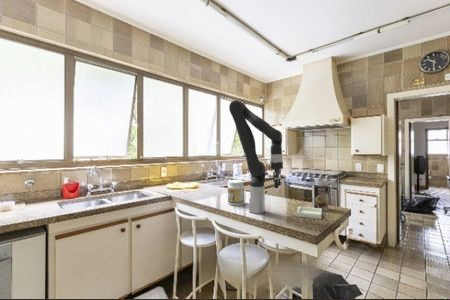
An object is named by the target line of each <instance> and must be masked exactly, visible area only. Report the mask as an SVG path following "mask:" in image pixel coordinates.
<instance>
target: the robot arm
mask: <svg viewBox="0 0 450 300" xmlns="http://www.w3.org/2000/svg"><path fill="white" fill-rule="evenodd" d="M228 108H229V109H228V110H229V113H230V115H231V117H232V120H233V121H234V125H235V129H236V132H237V135H238V138H239V142H240V144H241V147H242V150H243V152H244V156H245V160H246V163H247V169H248V172H249V174H250V175H251V179H250V182H249V192H250V193H249V194H250V196H249V198H248V200H249V201H248V202H249V203H248V204H249V213H252V214H256V215H257V214H264V213H265V209H266V208H265V207H266V206H265V203H266V202H265V181H266V166H265V164H264V162H262V161H260V160H259V157H258V155H257V148H256V140H255V137H254V134H253V131H252V129H251V127H250V126H249V124H250V125H252V126H253V127H254V128H255V129H257V130H258V131H259V132H260V133H262V134H264V135H265V136H266V137H267V138H268V139H269V140H271V145H270V169H271V170H274V171H273V172H272V177H273V182H274V188H275V189H279V187H281V184H282V182H281V179H282V172H281V171H282V170H283V169H284V162H283V161H284V158H283V148H282V143H283V134H282V132H281V131H280V130H279V129H276V128H275V127H274V126H271V124H269V122H267V121H265V119H263V118H262V117H260V116H258V115H257V114H255V113H254V112H252V111H251V110H250V109H249V108H248V107H247V106H246V105H245V104H244V103H243V102H242V101H241V100H232V101H230V103H229V105H228ZM248 122H249V124H248Z"/></svg>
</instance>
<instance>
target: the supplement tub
mask: <svg viewBox="0 0 450 300" xmlns="http://www.w3.org/2000/svg"><path fill="white" fill-rule="evenodd" d="M227 203H228V204H229V205H230V206H234V205H238V206H241V205H244V204H245V185H244V181H243V180H240V179H235V180H234V179H232V180H229V181H228V185H227Z"/></svg>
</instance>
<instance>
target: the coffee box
mask: <svg viewBox="0 0 450 300" xmlns="http://www.w3.org/2000/svg"><path fill="white" fill-rule="evenodd" d="M311 187H312V188H311V192H312V193H311V194H312V195H311V196H312V197H311V199H312V200H311V208H322V211H323V212H325V211H327V212H328V211H329V186H328V185H326V184H311Z"/></svg>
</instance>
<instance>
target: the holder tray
mask: <svg viewBox="0 0 450 300" xmlns="http://www.w3.org/2000/svg"><path fill="white" fill-rule="evenodd" d="M322 215H323V214H322V208H312V207H308V206H306V207H305V206H298V208H297V211H296V218H297V217H298V218H306V219H315V220H322Z"/></svg>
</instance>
